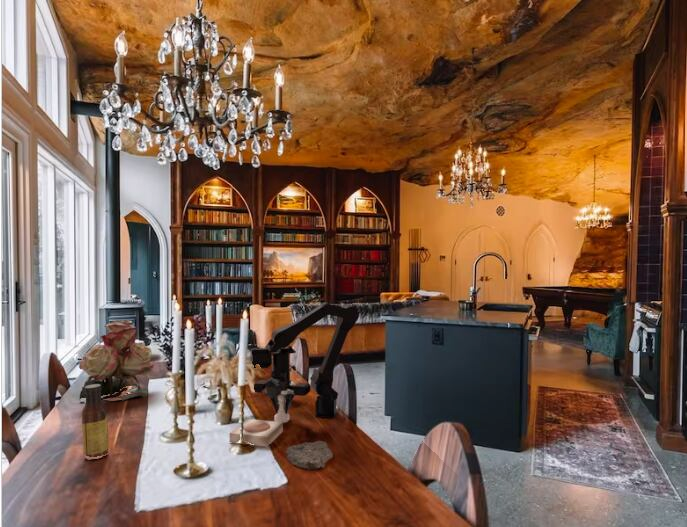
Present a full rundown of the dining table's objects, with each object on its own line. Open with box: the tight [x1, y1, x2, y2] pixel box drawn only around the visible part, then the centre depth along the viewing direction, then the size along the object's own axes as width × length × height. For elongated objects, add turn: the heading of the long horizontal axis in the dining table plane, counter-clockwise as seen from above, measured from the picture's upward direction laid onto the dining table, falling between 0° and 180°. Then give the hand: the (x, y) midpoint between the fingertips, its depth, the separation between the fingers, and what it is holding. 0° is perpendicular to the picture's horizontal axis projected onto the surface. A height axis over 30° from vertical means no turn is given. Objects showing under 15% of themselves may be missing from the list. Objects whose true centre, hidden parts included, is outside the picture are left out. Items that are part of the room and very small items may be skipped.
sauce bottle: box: [81, 384, 110, 457], centre depth 128 cm, size 6×6×20 cm
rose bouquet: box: [78, 319, 155, 401], centre depth 186 cm, size 26×29×30 cm
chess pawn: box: [274, 394, 290, 424], centre depth 154 cm, size 5×5×9 cm
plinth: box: [229, 418, 284, 448], centre depth 140 cm, size 12×12×3 cm
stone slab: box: [285, 440, 334, 471], centre depth 126 cm, size 12×17×3 cm
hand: (281, 412), depth 154 cm, fingers closed on chess pawn, 3 cm apart
